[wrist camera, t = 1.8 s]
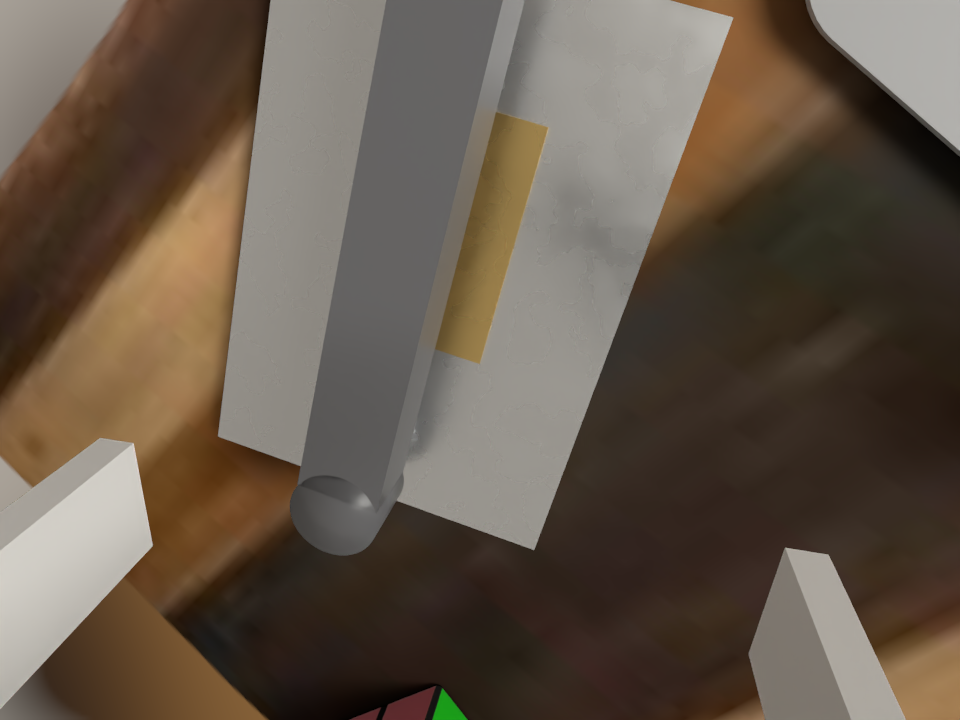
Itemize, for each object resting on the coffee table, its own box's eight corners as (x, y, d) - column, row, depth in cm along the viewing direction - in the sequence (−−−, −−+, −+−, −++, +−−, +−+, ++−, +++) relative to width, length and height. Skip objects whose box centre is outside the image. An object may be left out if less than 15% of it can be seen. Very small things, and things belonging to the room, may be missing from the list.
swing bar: (542, -48, 24) (528, -79, 21) (394, 520, 35) (367, 567, 31) (433, -78, 25) (400, -113, 21) (319, 493, 35) (283, 536, 32)
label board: (727, 22, 28) (743, 7, 24) (537, 534, 38) (528, 578, 35) (299, -94, 29) (252, -125, 26) (231, 425, 40) (192, 456, 37)
